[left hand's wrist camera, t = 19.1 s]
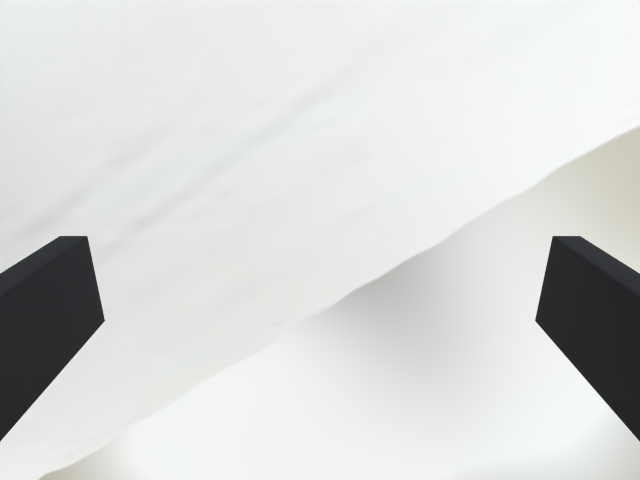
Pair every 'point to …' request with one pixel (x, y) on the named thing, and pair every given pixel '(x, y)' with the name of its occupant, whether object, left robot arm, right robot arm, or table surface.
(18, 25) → the table surface
